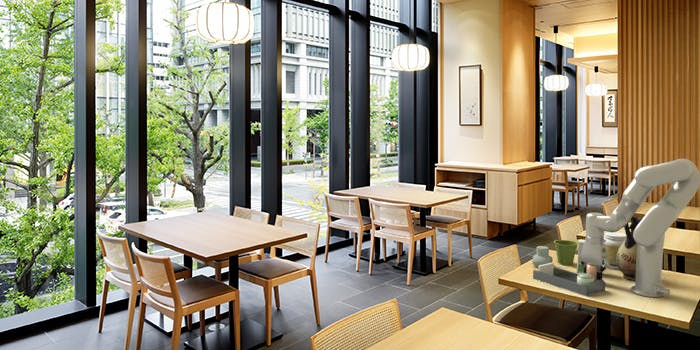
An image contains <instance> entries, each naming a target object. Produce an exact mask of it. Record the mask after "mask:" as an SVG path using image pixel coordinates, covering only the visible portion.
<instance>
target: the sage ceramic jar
mask: <svg viewBox="0 0 700 350" xmlns="http://www.w3.org/2000/svg"><path fill="white" fill-rule="evenodd" d="M578 274H579V275H577V283H579V284H582V285H585V286H586V283H590V282H594V281H595V277H593V275H591V274H587V273H578Z"/></svg>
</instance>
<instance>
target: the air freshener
mask: <svg viewBox="0 0 700 350" xmlns="http://www.w3.org/2000/svg"><path fill="white" fill-rule="evenodd" d="M553 260H554V259H553V257H552V256H551V255H550V248H549V247H548V246H545V245H538V246H536V254H534V255H533V256H532V260H531V263H532V265H534V266H535V267H538V266H539V265H544V264H548V263H553Z"/></svg>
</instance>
